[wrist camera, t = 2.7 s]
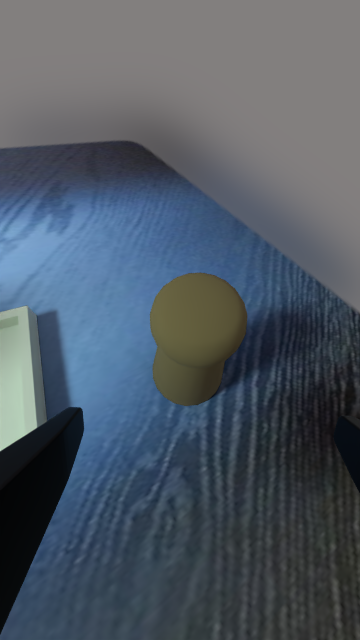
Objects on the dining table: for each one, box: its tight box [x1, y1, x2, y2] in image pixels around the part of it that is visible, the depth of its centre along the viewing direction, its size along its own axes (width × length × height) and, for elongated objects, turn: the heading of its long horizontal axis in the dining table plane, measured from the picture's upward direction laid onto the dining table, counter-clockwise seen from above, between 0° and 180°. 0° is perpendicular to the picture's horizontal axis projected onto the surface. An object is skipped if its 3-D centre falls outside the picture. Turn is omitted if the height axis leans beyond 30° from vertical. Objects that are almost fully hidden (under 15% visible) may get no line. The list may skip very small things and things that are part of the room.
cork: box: [150, 273, 247, 406], centre depth 17 cm, size 6×6×11 cm
